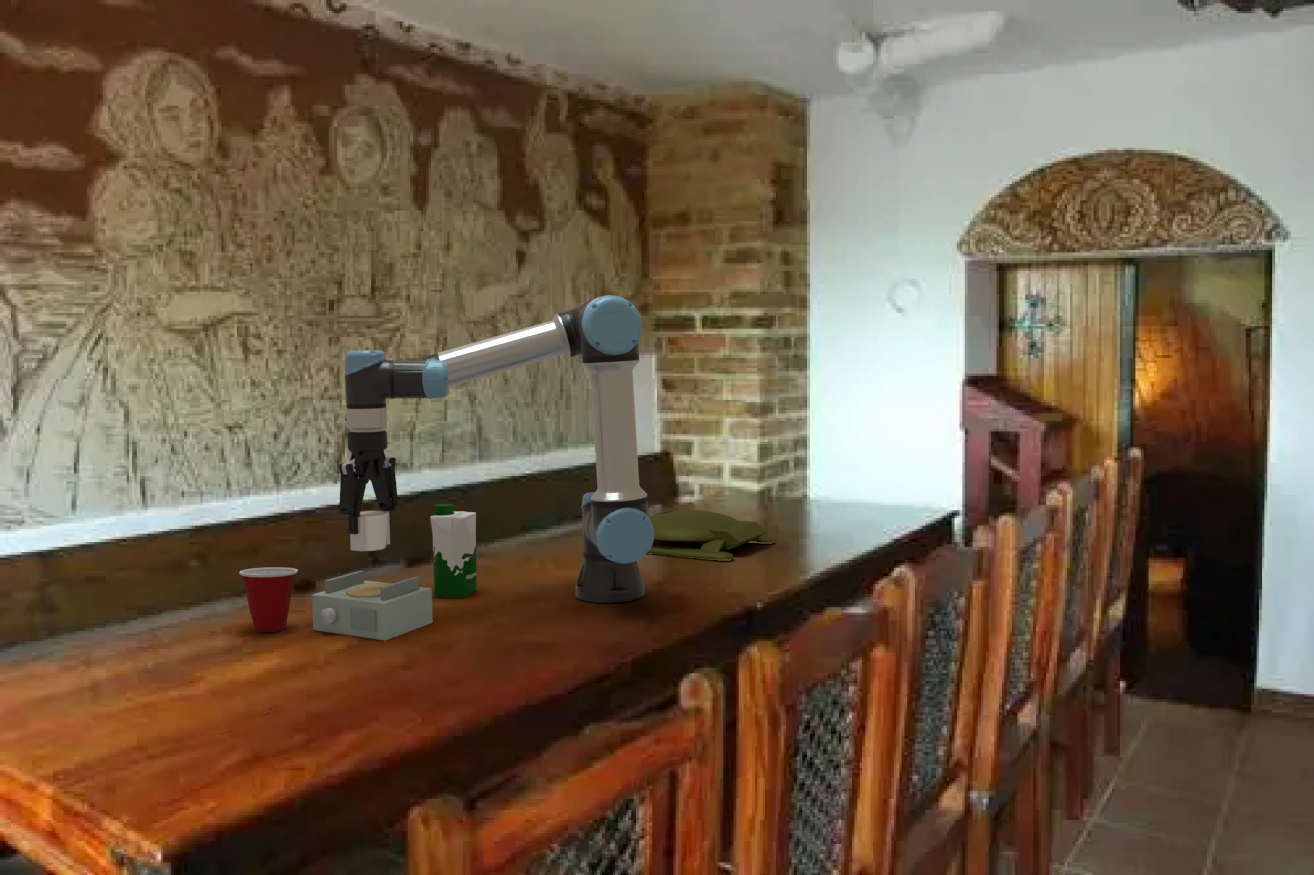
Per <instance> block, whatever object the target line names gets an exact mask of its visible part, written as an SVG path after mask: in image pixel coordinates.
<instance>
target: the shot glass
mask: <svg viewBox="0 0 1314 875" xmlns="http://www.w3.org/2000/svg"><path fill="white" fill-rule="evenodd" d="M387 514H388V513H387V512H386V511H381V510H364V511H363V510H361V512H360V516H359V517H363V530H364V551H363V552H373V551H380V550H384V549H385V548H387V544H386V533H387Z"/></svg>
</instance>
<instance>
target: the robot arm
mask: <svg viewBox="0 0 1314 875" xmlns="http://www.w3.org/2000/svg"><path fill="white" fill-rule="evenodd" d="M642 332H643V321H642V318H641V314H640V312H639V310H638V309H637V308H636V306H635V305H634V304H633V303H632V302H631V301H630V300H627V299H625V298H623V297H622V296H618V295H614V294H612V295H610V294H606V295H600V296H598V297H596V298H593V299H590V300H588V301H586V302H584V303H582V304H581V305H578V306H576V307H574V308H571V309H568V310H567V311H563V312H559V313H556V314H555V315H554V316H553V318H552V320H548V321H546V322H542V323H538V324H535V325H532V326H528V327H524V328H521V329H518V330H514V331H511V332H507V333H503V334H498V335H496V336H492V337H489V338H485V339H482V340H477V341H475V342H471V343H468V344H464V345H460V346H457V347H454V348H450V349H447V350H446V349H445V350H443V351H440V352H437V353H432V354H428V355H426V356H421V357H418V358H413V359H407V360H406V359H405V360H403V359H401V360H390V359H386V358H387V357H386V355H385V352H384V351H383V350H350V351H348V352H347V353H346V354H345V358H344V359H345V360H344V362H345V363H344V364H345V365H344V366H345V367H344V385H345V386H344V387H345V404H346V406H345V407H346V428H347V429H349V430H350V431H348V432H347V433H346V438H347V439H346V440H347V441H346V442H347V443H346V445H347V450H349V451H350V459H349V461H348V462H346V463H342V462H341V463H339V464H338V470H339V474H340V481H339V482H340V483H339V486H340V487H339V502H338V503H339V505H338V506H339V508H338V514H339V515H340V516H343V517H345V518H347V525H348V526H347V527H348V534H349V538H350V540H349V542H350V551H357V552H365V551H364V530H363V517H359V516H360V512H361V511H362V505H363V503H364V497H365V491H366V487H367V484H368V483H369V482H371V485H372V489H373V492H374V496H375V499H376V503H377V506H378V509H379V511H386V512H387V513H388V514H387V533H386V546H388V545H390V544H391V530H390V529H391V528H390V527H391V524H392V520H391V518H392V517H391V512H394V511H395V510H396V507H397V506H399V498H398V497H399V496H398V487H397V486H398V485H397V478H396V464H397V458H396V457H393V456H391V457H389V456H386V454H385V450H386V449H388V432H387V431H386V430H385V429H386V428H387V427H388V416H387V415H388V414H387V400H389V399H391V400H394V399H429V400H432V399H440V398H441V399H442V398H445V397H447V396H448V394H449V393H448V392H449V388H450V387H455V386H458V385H462V384H465V383H468V382H472V381H475V380H479V379H482V378H486V377H490V376H492V375H497V374H500V373H503V372H506V371H507V372H508V371H510V370H513V369H519V368H520V367H521V368H522V367H524V366H528V365H531V364H535V363H538V362H541V361H545V360H546V361H547V360H549V359H552V358H555V357H559V356H564V357H566V358H573V357H577V356H581V363H582V366H583V367H585V369H587V370H588V371H589V373H590V387H591V402H592V404H591V405H592V406H591V407H592V418H593V421H592V422H593V435H594V451H595V468H596V482H597V489H596V490H595V491H593V492H586V493H584V494H583V496H582V501H581V502H582V504H581V506H580V507H581V510H582V511H581V512H582V515H581V516H582V564H581V566H580V570H579V574H578V578H577V580H576V584H575V597H576V598H577V599H579V600H581V601H585V602H590V603H602V604H603V603H605V604H606V603H607V604H611V603H614V602H616V603H626V602H631V601H636V600H638V599H637V598H639V599H641V598H643V597H644V596H645V583H644V580H643V577H642V576H643V575H642V573H641V571H640V568H639V565H638V561H639V560H640V559H642V558H643V557H645V556H646V555H647V554H646V553H647V552H648V551H649V550H650V548H651V546H652V545H653V543H654V540H655V539H654V528H653V525H652V522H651V520H650V518H649V502H648V493H647V492H646V491H645V490H644V489H642V487H641V486H640V476H639V460H638V458H639V457H638V443H637V442H638V441H637V440H638V439H637V425H636V422H637V421H636V407H635V391H634V390H635V389H634V388H635V387H634V375H633V374H634V373H633V372H634V371H633V370H634V368H635V367H636V366H637V365H638V364H639V363H640V347H639V346H640V345H639V341H640V339H641V336H642ZM643 595H644V596H643ZM642 596H643V597H642ZM635 599H636V600H635ZM614 604H615V603H614Z"/></svg>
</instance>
